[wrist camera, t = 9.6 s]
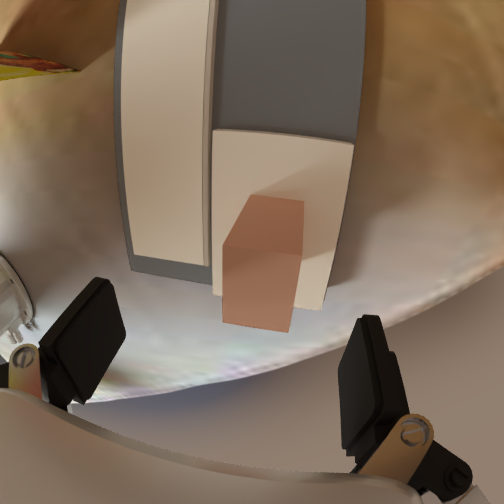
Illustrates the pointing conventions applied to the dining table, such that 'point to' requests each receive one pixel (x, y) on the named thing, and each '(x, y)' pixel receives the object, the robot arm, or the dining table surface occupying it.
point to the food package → (27, 66)
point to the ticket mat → (219, 105)
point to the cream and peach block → (274, 222)
